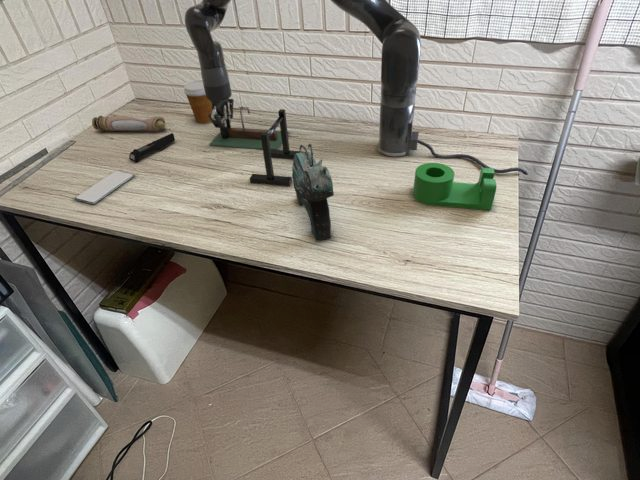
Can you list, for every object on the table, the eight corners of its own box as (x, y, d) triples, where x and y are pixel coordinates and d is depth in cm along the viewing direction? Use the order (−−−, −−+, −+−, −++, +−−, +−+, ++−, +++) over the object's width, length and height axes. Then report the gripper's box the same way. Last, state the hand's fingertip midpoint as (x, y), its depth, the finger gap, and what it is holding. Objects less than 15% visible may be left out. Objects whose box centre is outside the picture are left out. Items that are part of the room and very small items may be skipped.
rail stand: (270, 153, 126) (264, 107, 117) (306, 156, 123) (302, 109, 114) (250, 183, 114) (241, 134, 105) (289, 186, 111) (284, 137, 102)
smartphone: (73, 198, 111) (115, 170, 121) (74, 199, 111) (116, 171, 122) (93, 203, 109) (134, 174, 119) (93, 205, 109) (135, 176, 119)
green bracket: (412, 203, 102) (414, 180, 98) (413, 183, 109) (416, 161, 105) (490, 210, 99) (496, 186, 95) (487, 189, 106) (493, 166, 101)
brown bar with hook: (277, 138, 132) (273, 107, 125) (275, 140, 130) (271, 109, 124) (223, 134, 136) (217, 104, 129) (221, 137, 134) (215, 106, 128)
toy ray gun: (338, 242, 93) (335, 160, 80) (309, 248, 92) (302, 167, 79) (313, 194, 108) (307, 119, 95) (288, 199, 107) (279, 124, 94)
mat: (288, 133, 136) (288, 131, 135) (277, 150, 127) (276, 149, 126) (225, 128, 140) (224, 127, 140) (209, 145, 131) (209, 144, 131)
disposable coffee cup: (186, 123, 145) (176, 88, 137) (201, 112, 152) (193, 78, 144) (209, 127, 142) (201, 91, 134) (224, 115, 149) (217, 81, 141)
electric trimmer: (179, 143, 134) (176, 133, 132) (136, 163, 125) (132, 153, 123) (171, 140, 136) (168, 131, 134) (129, 160, 127) (125, 150, 125)
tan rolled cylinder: (103, 126, 146) (97, 112, 143) (171, 127, 143) (167, 113, 140) (94, 133, 142) (88, 119, 139) (164, 134, 139) (160, 120, 136)
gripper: (218, 90, 118) (229, 147, 129) (237, 73, 128) (246, 127, 139) (193, 89, 119) (206, 145, 130) (214, 72, 130) (225, 126, 141)
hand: (227, 135), depth 135 cm, fingers closed on brown bar with hook, 2 cm apart
